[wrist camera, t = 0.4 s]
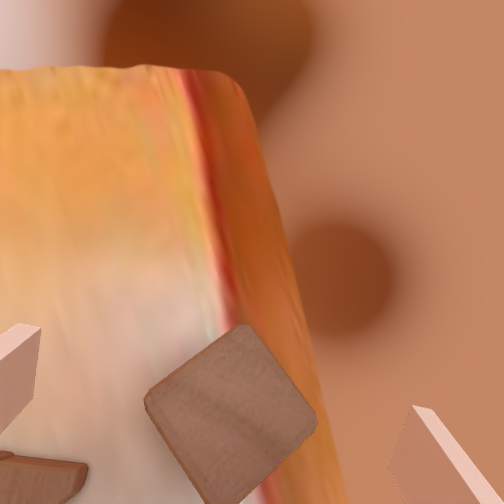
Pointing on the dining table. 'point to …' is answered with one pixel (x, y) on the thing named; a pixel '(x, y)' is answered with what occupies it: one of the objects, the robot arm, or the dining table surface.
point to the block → (230, 416)
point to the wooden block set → (38, 480)
